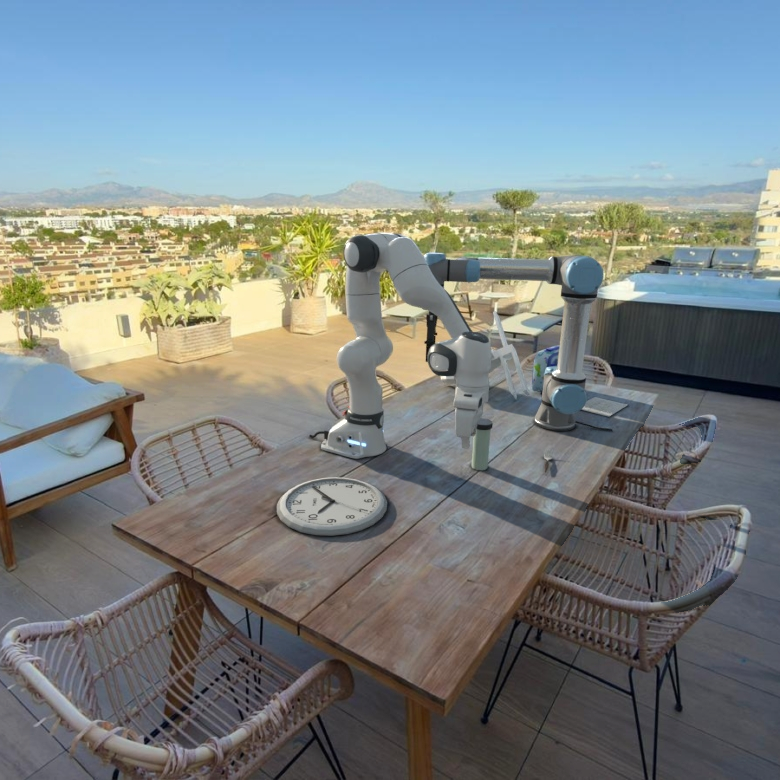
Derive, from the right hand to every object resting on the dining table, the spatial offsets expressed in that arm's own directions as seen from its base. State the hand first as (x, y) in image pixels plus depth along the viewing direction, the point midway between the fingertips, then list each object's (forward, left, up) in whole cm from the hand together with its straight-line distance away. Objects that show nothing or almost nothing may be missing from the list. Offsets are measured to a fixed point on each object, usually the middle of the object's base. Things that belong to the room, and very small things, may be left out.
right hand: (430, 357), depth 190 cm
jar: (-18, +30, -28) cm, 45 cm away
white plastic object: (-22, -50, -28) cm, 61 cm away
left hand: (-13, +50, -11) cm, 53 cm away
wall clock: (+23, +61, -28) cm, 71 cm away
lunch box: (-56, -59, -28) cm, 86 cm away
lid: (-18, +30, -13) cm, 37 cm away
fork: (-40, +25, -28) cm, 55 cm away
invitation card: (-73, -38, -28) cm, 87 cm away
